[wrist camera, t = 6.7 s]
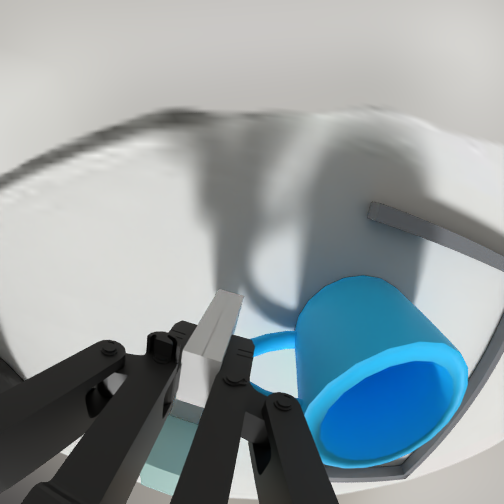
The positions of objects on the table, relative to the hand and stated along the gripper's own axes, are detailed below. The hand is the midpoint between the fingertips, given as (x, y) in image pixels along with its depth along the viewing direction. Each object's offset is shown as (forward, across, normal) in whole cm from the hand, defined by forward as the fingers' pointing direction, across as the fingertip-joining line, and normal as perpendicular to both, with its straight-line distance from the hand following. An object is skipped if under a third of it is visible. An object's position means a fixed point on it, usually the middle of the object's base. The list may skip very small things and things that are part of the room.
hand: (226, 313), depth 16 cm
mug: (+2, +6, 0) cm, 7 cm away
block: (+2, -1, -15) cm, 15 cm away
